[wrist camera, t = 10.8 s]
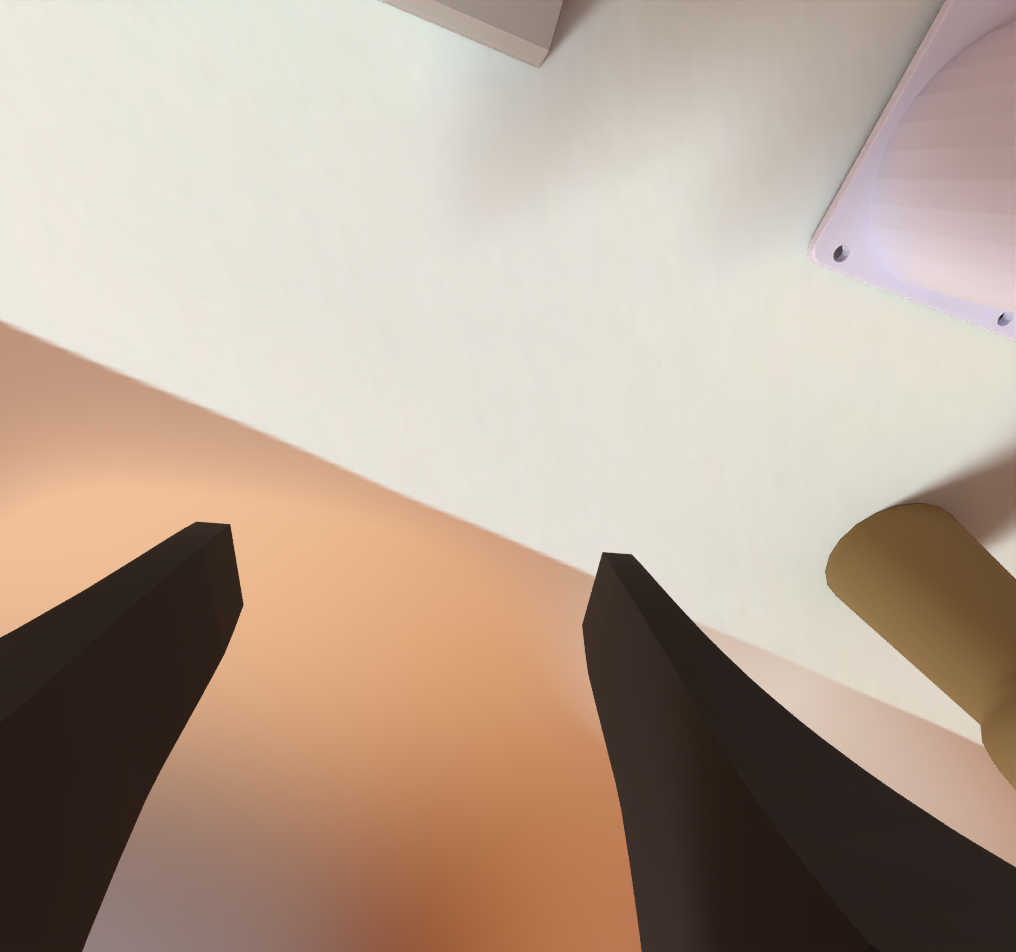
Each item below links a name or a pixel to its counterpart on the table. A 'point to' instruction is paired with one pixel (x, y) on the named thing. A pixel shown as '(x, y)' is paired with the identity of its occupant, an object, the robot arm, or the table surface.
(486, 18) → the socket block
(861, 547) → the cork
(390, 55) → the table surface
